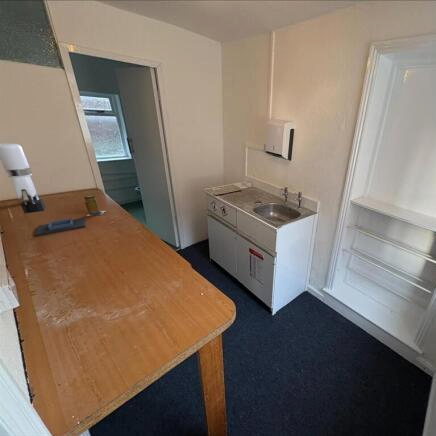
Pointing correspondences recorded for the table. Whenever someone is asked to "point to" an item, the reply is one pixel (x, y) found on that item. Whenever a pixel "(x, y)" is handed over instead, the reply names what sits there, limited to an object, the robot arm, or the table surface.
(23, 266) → the table surface
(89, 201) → the condiment
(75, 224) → the base pad
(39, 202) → the dark grey block
